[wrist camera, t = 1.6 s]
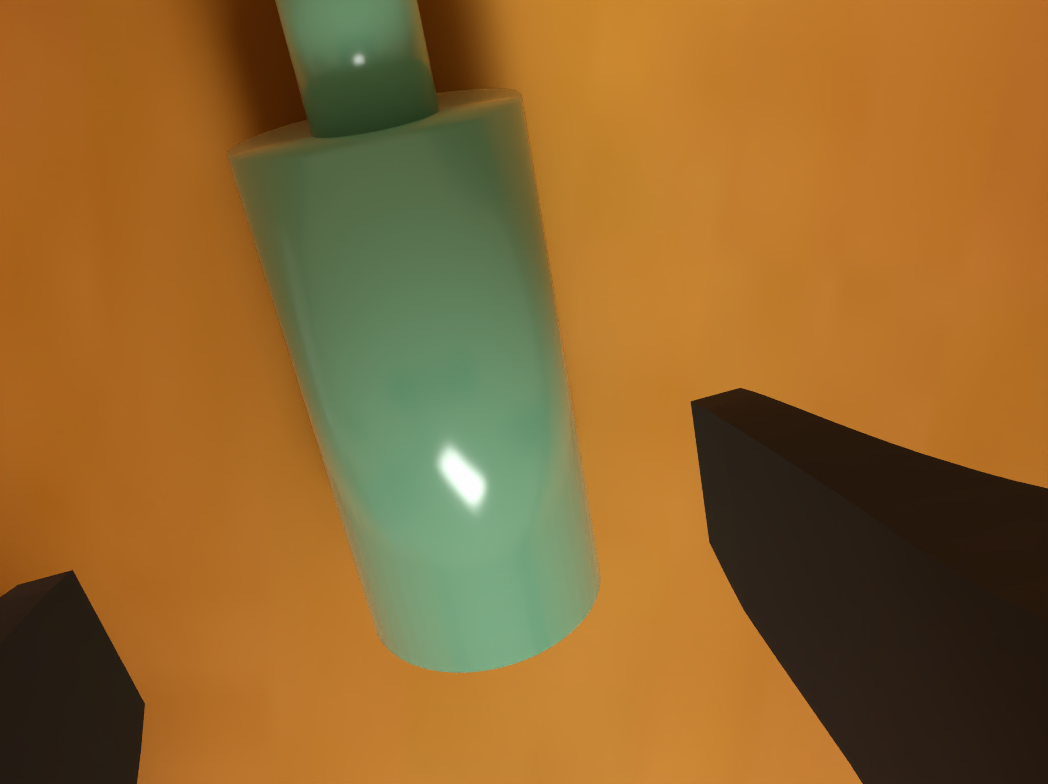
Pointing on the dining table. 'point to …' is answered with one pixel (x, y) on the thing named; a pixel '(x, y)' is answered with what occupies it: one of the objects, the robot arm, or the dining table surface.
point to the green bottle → (424, 339)
